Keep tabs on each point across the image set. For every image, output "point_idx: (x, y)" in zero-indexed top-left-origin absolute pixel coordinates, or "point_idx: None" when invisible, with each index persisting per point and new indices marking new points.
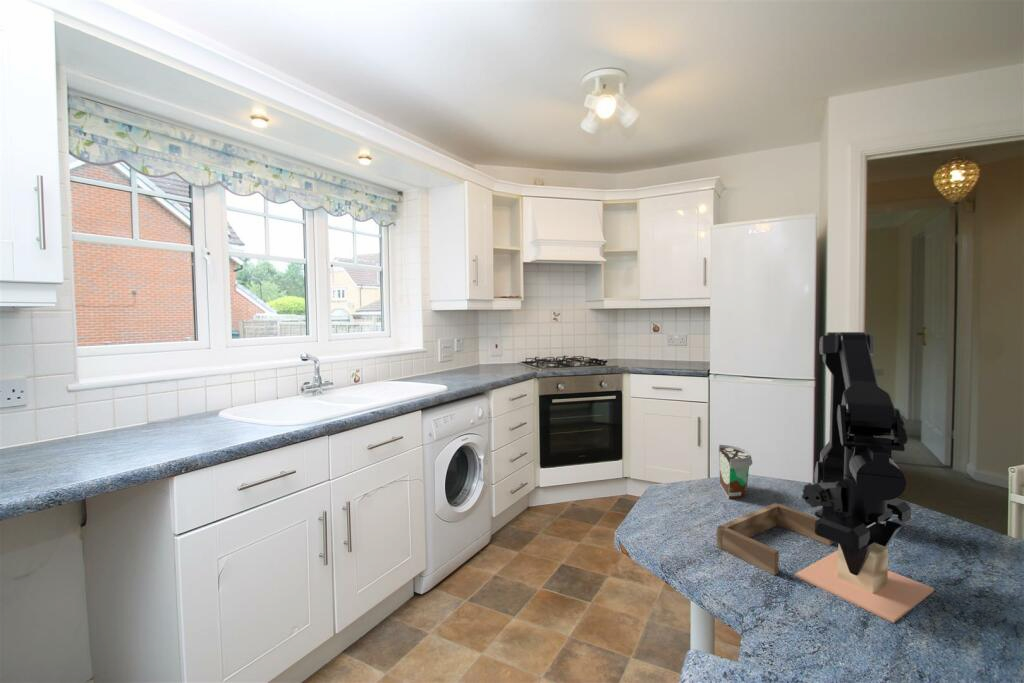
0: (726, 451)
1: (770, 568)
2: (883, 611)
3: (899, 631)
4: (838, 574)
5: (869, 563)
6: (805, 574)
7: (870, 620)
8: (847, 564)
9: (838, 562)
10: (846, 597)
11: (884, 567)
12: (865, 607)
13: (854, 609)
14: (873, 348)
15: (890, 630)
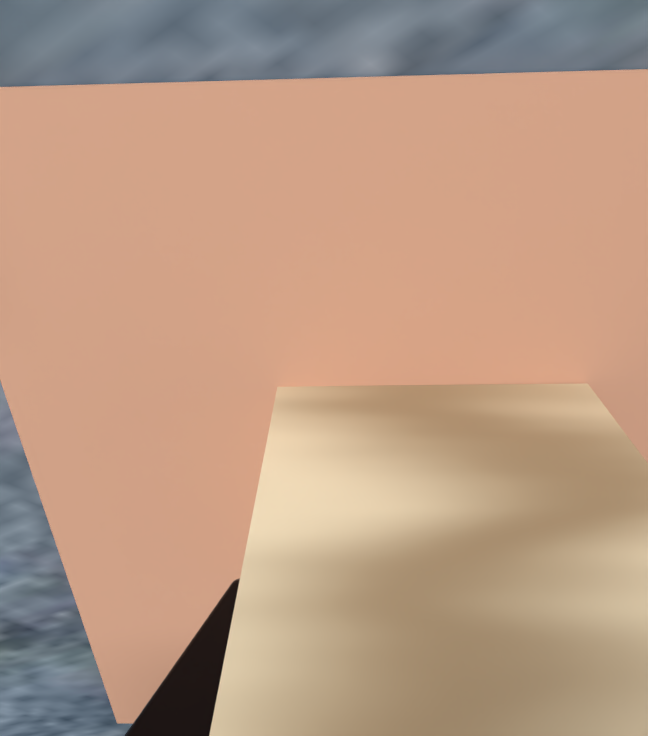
0: None
1: None
2: (146, 681)
3: (82, 731)
4: (273, 415)
5: None
6: (18, 176)
7: (20, 653)
8: (181, 658)
9: (258, 503)
10: (63, 536)
11: None
12: (84, 625)
13: (26, 581)
14: None
15: (44, 714)
